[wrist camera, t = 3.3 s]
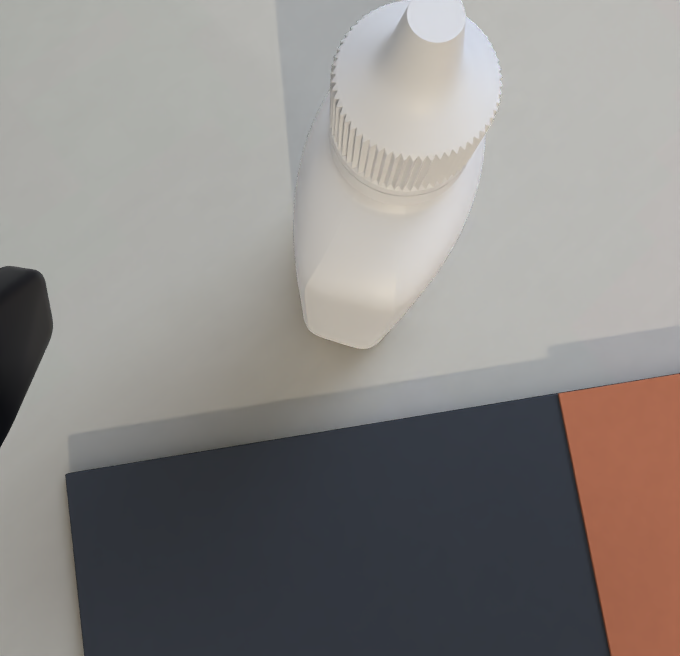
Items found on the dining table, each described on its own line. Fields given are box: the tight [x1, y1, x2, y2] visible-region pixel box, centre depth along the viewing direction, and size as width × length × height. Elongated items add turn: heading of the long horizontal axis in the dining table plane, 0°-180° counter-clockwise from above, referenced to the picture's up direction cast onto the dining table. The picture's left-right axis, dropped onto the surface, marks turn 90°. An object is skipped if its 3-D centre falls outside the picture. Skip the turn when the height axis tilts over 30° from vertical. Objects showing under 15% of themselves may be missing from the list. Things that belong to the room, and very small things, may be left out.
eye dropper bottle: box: [293, 0, 503, 349], centre depth 13 cm, size 4×6×12 cm
